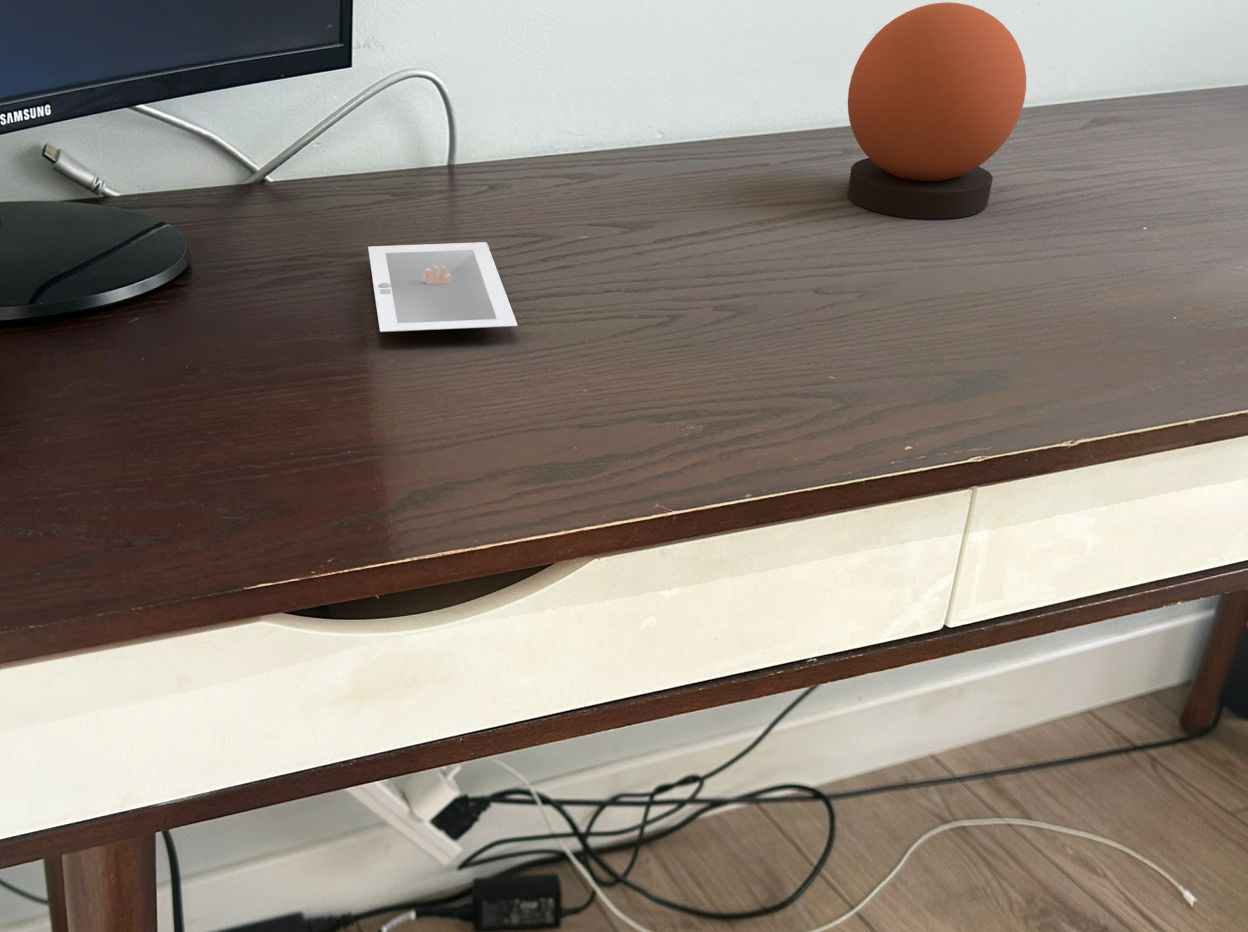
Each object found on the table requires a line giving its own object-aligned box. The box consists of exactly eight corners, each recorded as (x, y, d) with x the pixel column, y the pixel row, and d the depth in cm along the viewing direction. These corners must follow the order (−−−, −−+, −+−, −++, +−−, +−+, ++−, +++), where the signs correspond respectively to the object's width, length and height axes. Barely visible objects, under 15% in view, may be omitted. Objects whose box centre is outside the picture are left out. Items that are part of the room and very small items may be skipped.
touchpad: (486, 258, 91) (486, 226, 90) (517, 343, 78) (518, 307, 77) (368, 262, 90) (367, 230, 89) (380, 349, 78) (379, 313, 76)
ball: (1036, 205, 100) (1081, 7, 93) (925, 234, 94) (964, 25, 87) (908, 168, 108) (940, -16, 101) (799, 193, 103) (825, 0, 96)
